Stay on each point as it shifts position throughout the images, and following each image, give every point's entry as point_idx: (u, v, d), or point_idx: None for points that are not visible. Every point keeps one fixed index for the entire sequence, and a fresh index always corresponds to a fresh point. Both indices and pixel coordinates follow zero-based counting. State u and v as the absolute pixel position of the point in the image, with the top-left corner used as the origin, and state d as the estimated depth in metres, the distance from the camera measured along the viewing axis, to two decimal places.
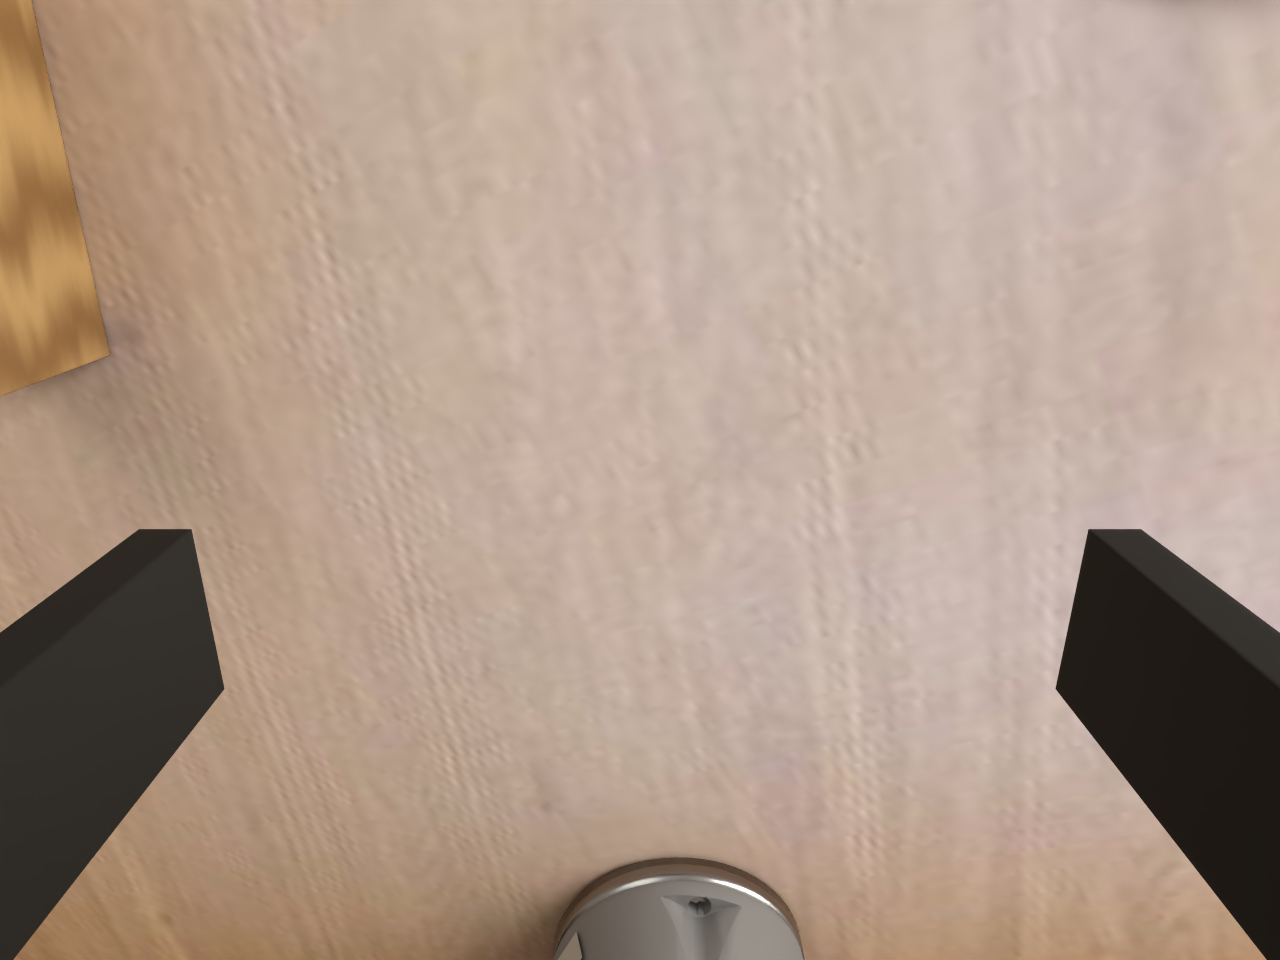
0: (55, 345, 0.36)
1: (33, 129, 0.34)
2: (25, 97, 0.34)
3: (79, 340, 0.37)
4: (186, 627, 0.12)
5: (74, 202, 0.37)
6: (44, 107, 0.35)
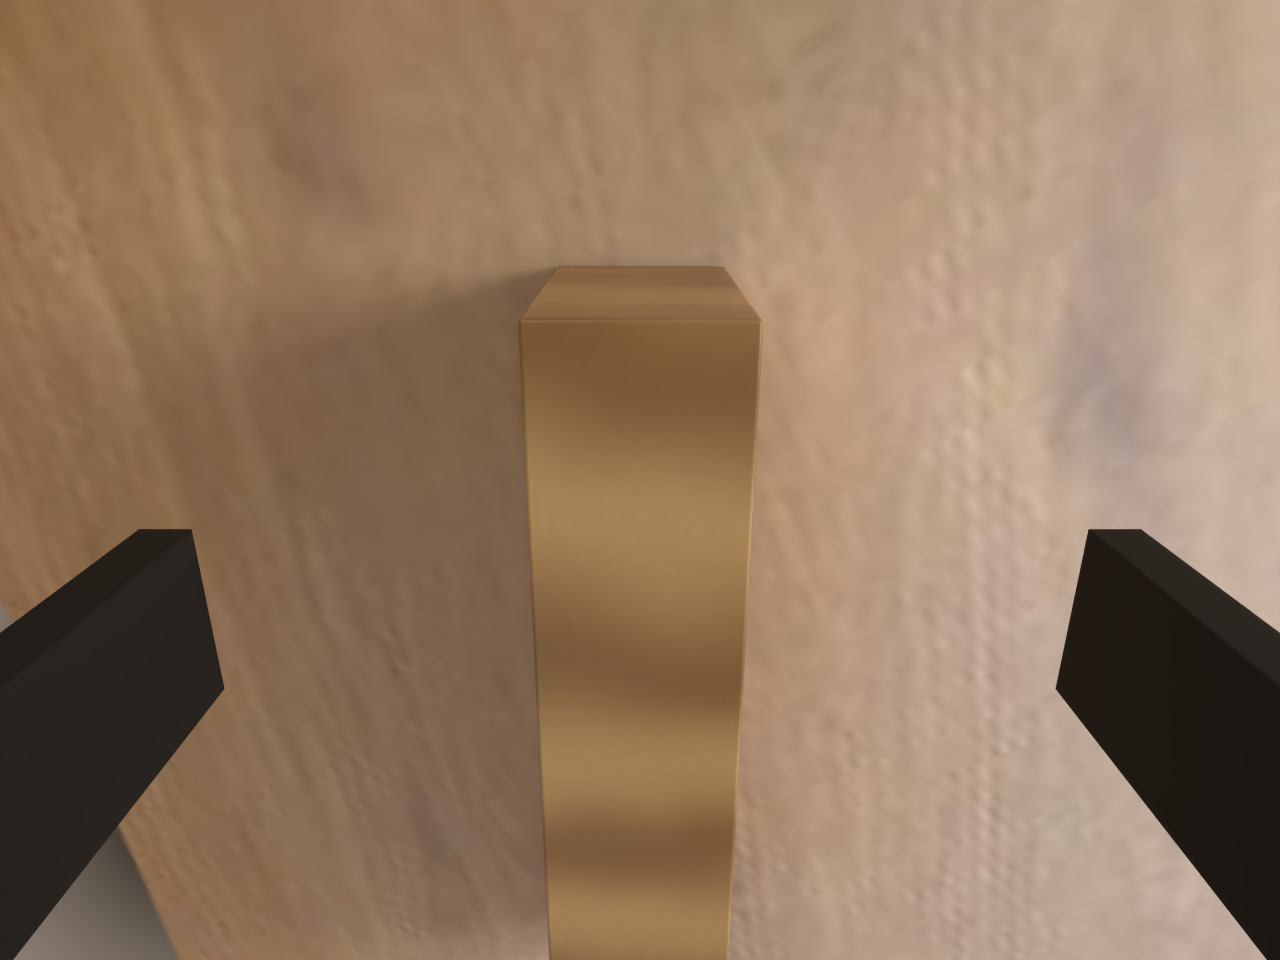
0: None
1: None
2: None
3: None
4: (186, 627, 0.12)
5: None
6: None
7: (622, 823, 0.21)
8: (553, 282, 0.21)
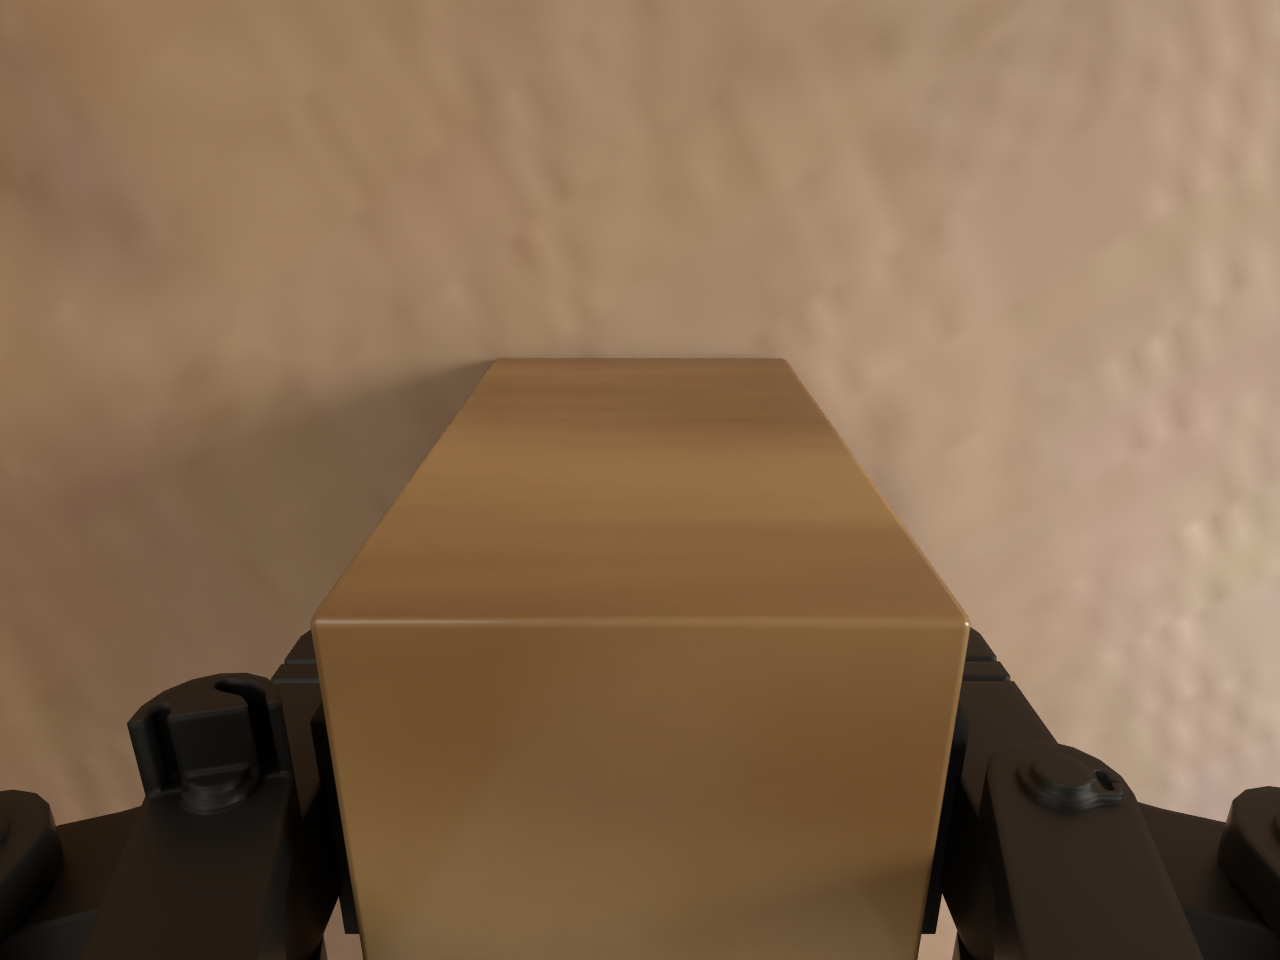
0: None
1: None
2: None
3: None
4: None
5: None
6: None
7: None
8: (467, 416, 0.11)
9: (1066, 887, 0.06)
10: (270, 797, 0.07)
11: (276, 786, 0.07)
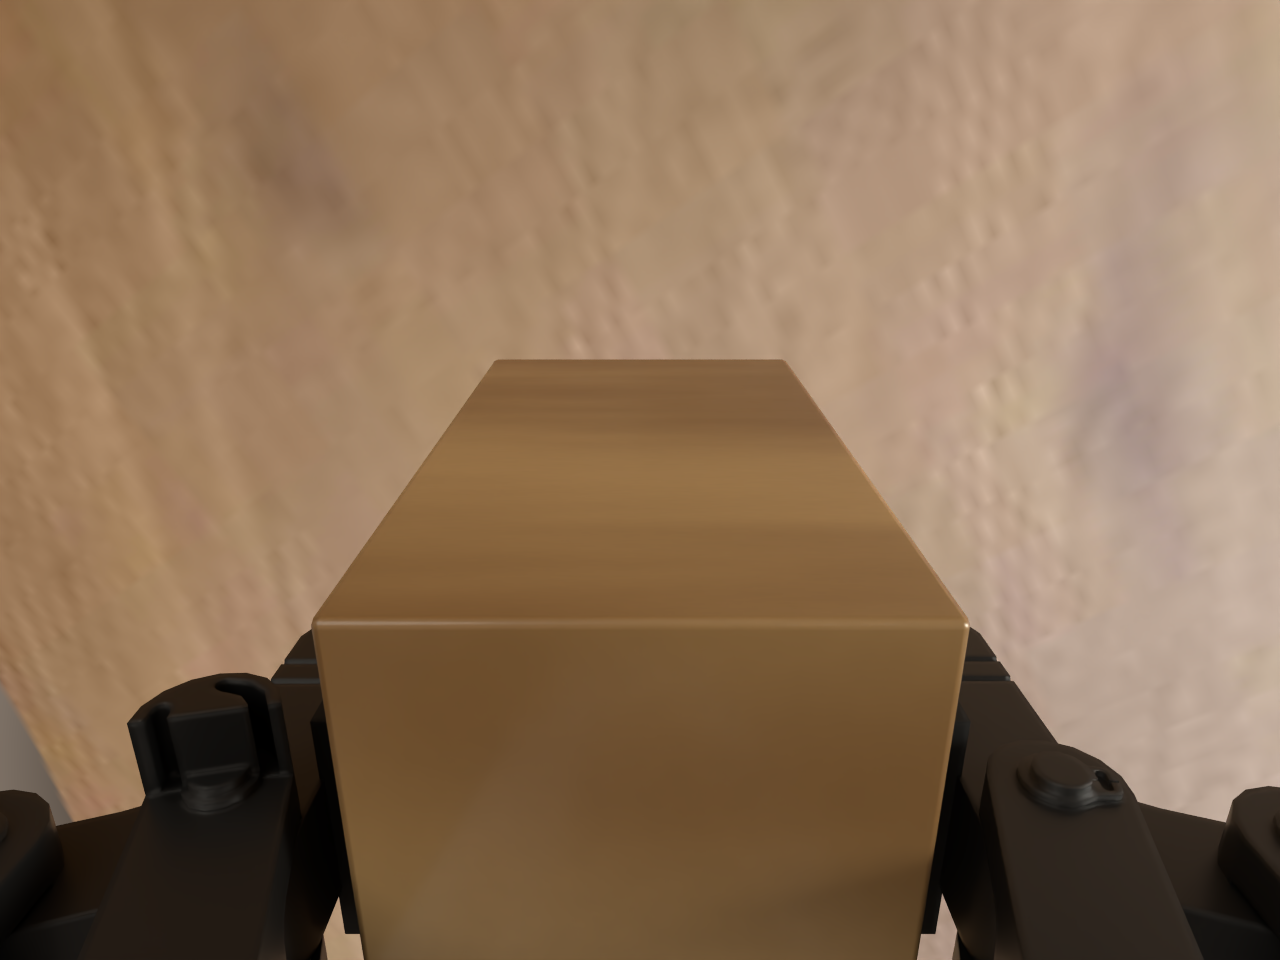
0: None
1: None
2: None
3: None
4: None
5: None
6: None
7: None
8: (468, 417, 0.11)
9: (1066, 887, 0.06)
10: (270, 797, 0.07)
11: (276, 786, 0.07)
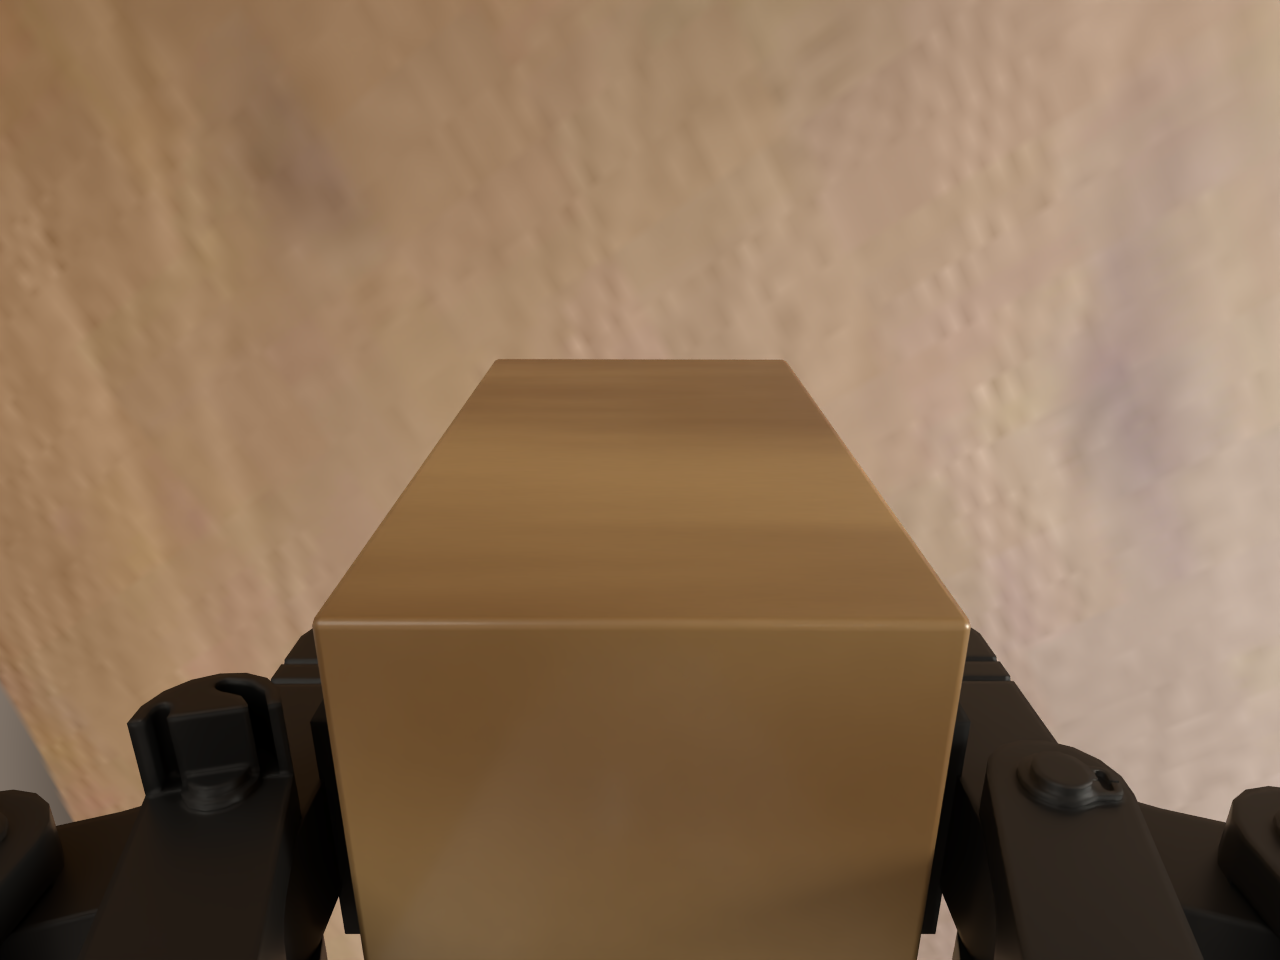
0: None
1: None
2: None
3: None
4: None
5: None
6: None
7: None
8: (468, 417, 0.11)
9: (1065, 887, 0.06)
10: (271, 797, 0.07)
11: (277, 786, 0.07)
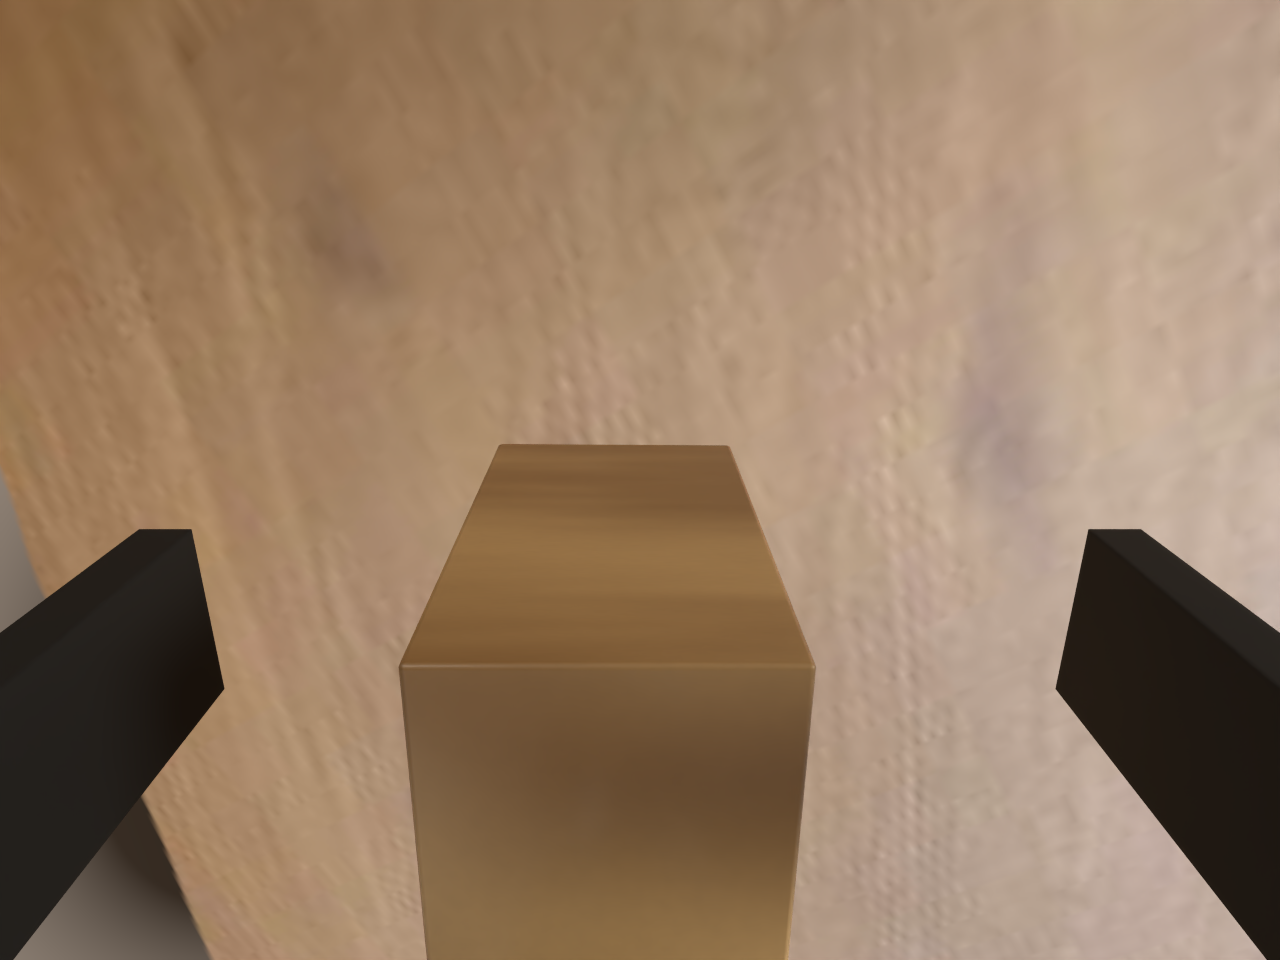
0: None
1: None
2: None
3: None
4: (186, 627, 0.12)
5: None
6: None
7: None
8: (483, 502, 0.14)
9: None
10: None
11: None
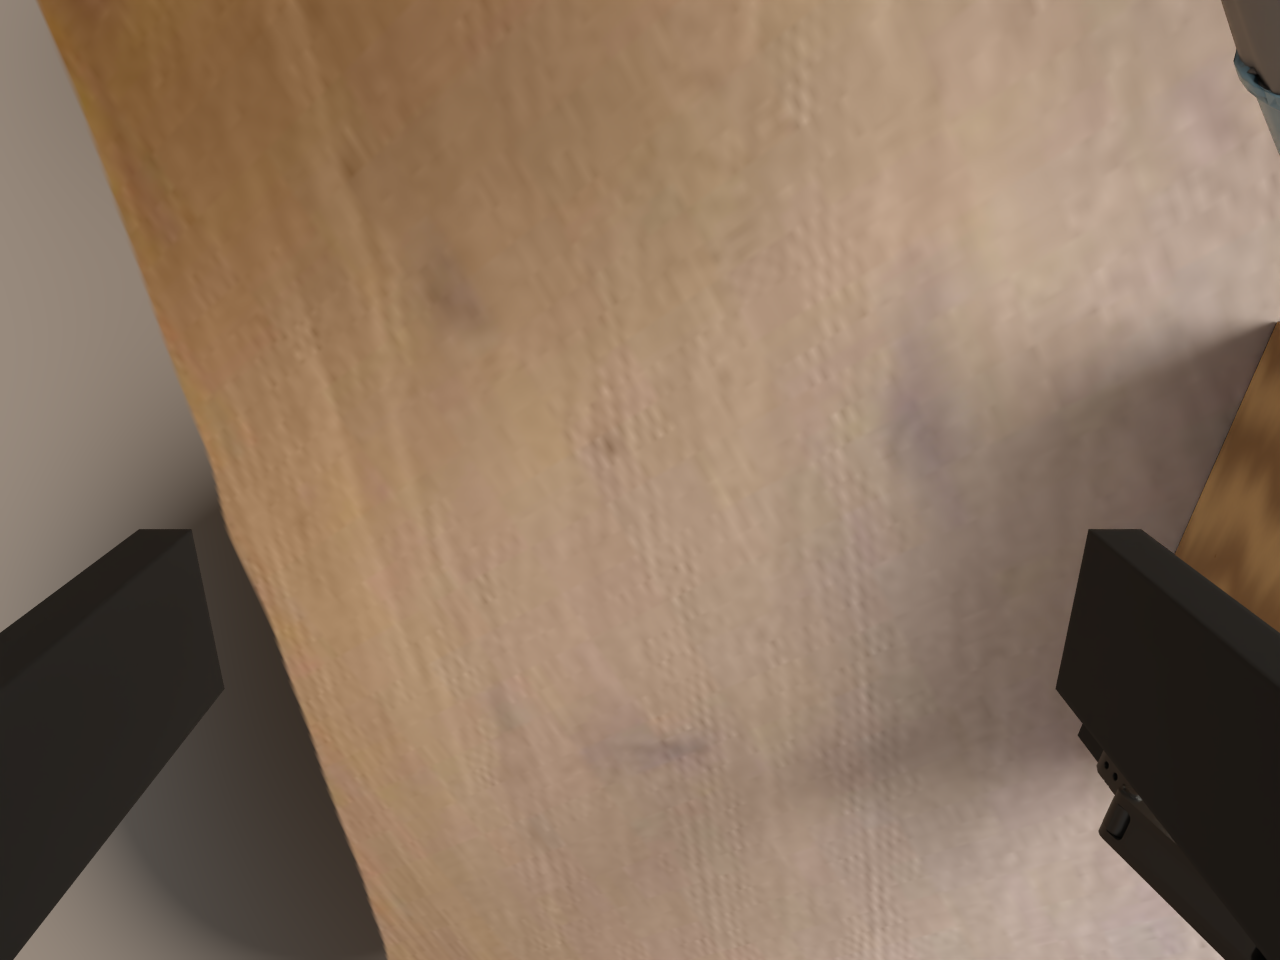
0: None
1: None
2: None
3: None
4: (186, 627, 0.12)
5: None
6: None
7: None
8: None
9: None
10: None
11: None
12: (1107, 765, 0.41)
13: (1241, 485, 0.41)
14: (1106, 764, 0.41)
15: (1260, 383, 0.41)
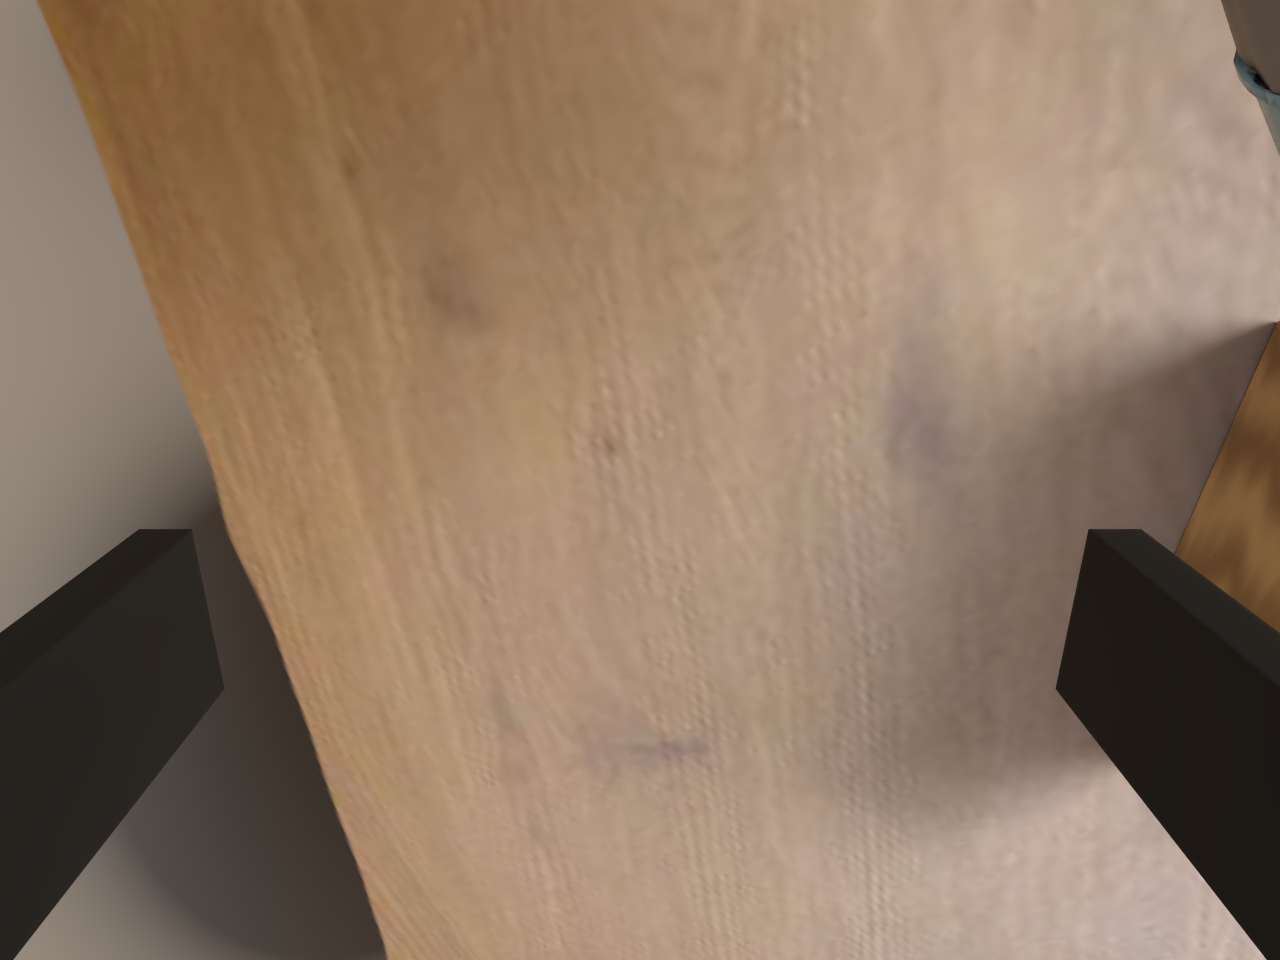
0: None
1: None
2: None
3: None
4: (186, 627, 0.12)
5: None
6: None
7: None
8: None
9: None
10: None
11: None
12: None
13: (1241, 485, 0.41)
14: None
15: (1260, 383, 0.41)
